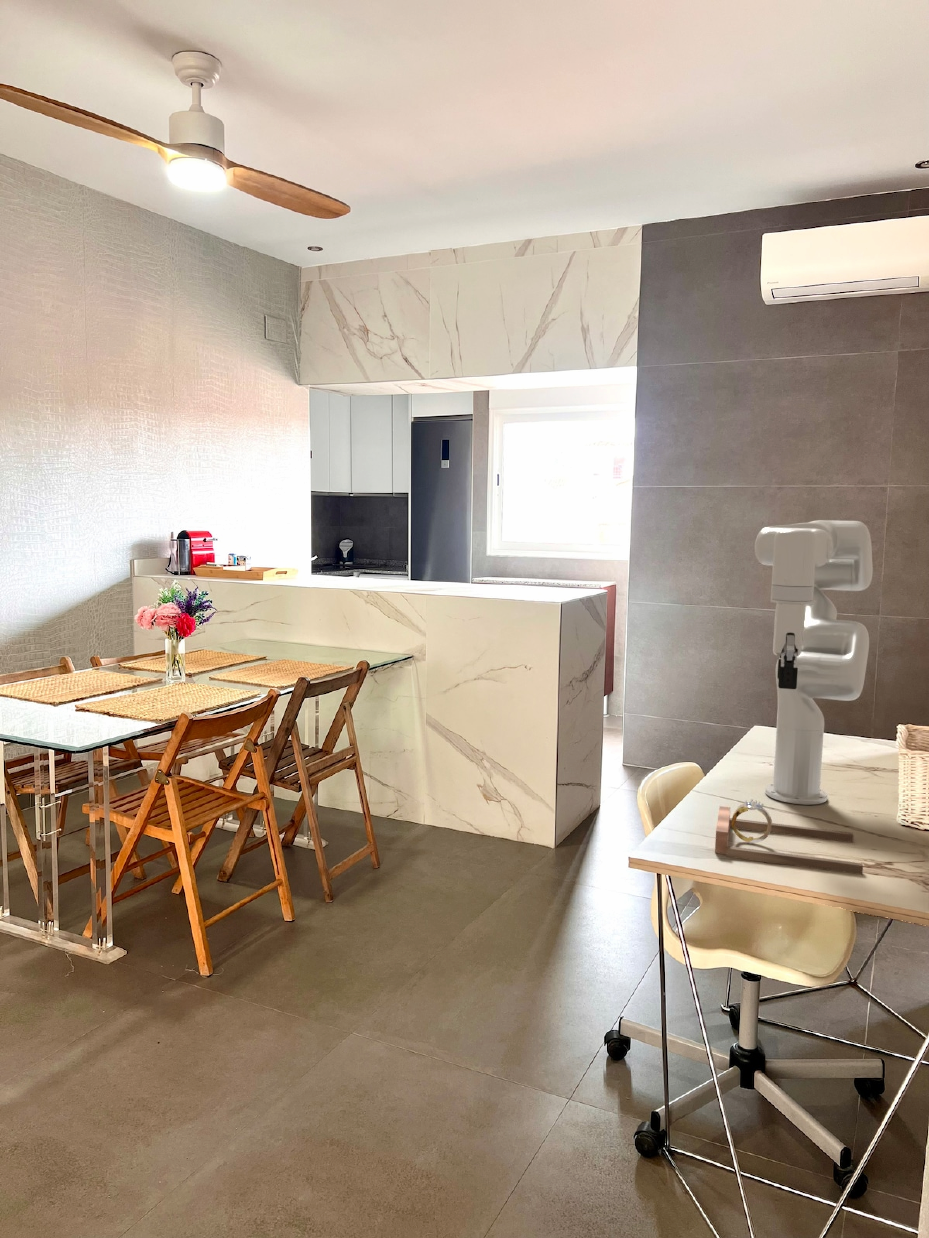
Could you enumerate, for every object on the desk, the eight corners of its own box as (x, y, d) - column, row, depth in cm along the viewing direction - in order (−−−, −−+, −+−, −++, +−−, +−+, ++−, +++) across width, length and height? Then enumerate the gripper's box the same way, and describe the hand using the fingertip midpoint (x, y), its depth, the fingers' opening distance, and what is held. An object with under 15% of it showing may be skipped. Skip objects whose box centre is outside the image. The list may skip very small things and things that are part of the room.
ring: (771, 843, 163) (773, 801, 163) (769, 849, 160) (772, 806, 160) (732, 837, 166) (734, 795, 165) (729, 842, 163) (732, 800, 163)
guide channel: (718, 824, 173) (719, 804, 173) (852, 840, 166) (853, 819, 166) (714, 854, 157) (715, 832, 157) (862, 874, 150) (864, 851, 149)
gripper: (770, 590, 177) (765, 675, 179) (771, 597, 161) (766, 690, 163) (810, 592, 175) (805, 677, 177) (815, 599, 159) (809, 693, 161)
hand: (786, 683), depth 170 cm, fingers open, 9 cm apart
